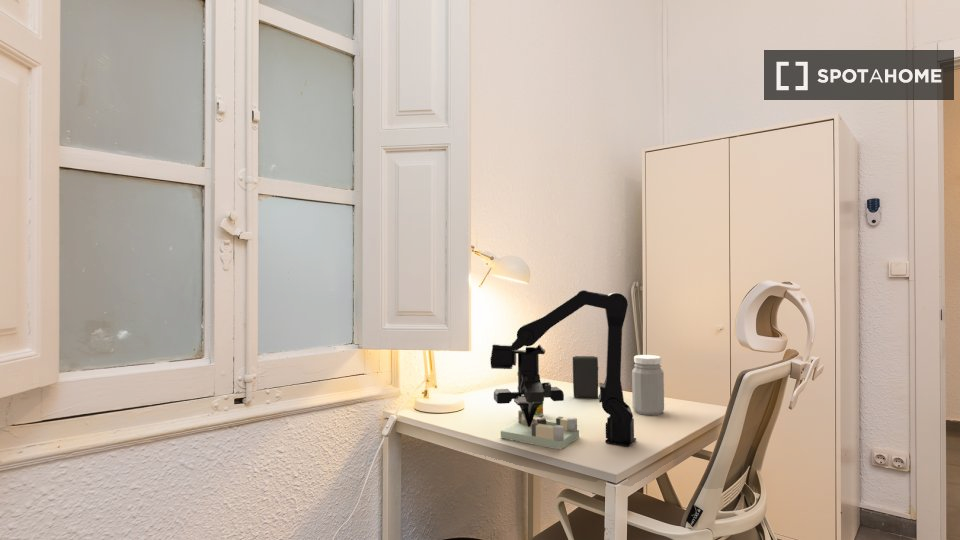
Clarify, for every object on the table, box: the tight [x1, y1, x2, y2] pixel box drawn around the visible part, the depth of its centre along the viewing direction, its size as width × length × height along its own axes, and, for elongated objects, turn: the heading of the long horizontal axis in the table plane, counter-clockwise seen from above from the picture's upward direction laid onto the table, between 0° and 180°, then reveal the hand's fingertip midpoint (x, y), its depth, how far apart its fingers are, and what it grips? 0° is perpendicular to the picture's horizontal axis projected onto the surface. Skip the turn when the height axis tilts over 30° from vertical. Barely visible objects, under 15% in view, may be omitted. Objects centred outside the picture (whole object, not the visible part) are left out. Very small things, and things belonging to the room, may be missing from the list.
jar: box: [631, 354, 665, 416], centre depth 164 cm, size 10×10×18 cm
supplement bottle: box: [534, 404, 544, 418], centre depth 162 cm, size 5×5×10 cm
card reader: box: [572, 355, 599, 399], centre depth 185 cm, size 9×4×15 cm, turn 82°
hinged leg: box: [517, 409, 547, 428], centre depth 143 cm, size 12×3×3 cm, turn 27°
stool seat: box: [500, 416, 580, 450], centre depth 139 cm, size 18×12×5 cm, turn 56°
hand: (528, 426), depth 139 cm, fingers closed
